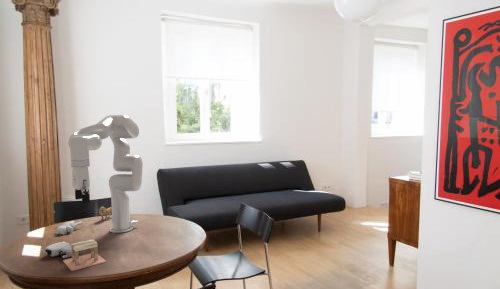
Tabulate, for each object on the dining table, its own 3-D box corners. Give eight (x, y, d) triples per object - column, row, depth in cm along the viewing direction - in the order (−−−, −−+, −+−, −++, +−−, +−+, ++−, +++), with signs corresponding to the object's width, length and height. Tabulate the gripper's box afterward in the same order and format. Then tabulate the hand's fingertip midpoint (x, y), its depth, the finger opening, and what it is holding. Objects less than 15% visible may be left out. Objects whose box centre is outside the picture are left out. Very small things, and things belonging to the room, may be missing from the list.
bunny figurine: (50, 228, 198) (69, 217, 213) (52, 236, 199) (70, 225, 214) (66, 229, 196) (83, 218, 211) (67, 237, 197) (84, 226, 212)
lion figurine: (104, 222, 222) (104, 207, 222) (97, 221, 223) (96, 207, 223) (118, 215, 237) (117, 202, 236) (110, 215, 238) (110, 202, 237)
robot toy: (85, 254, 172) (62, 248, 178) (86, 245, 172) (62, 239, 178) (63, 264, 161) (39, 257, 167) (63, 254, 161) (39, 247, 166)
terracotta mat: (95, 253, 171) (95, 252, 171) (106, 262, 160) (106, 261, 160) (62, 261, 162) (62, 260, 162) (71, 271, 151) (71, 269, 151)
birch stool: (72, 261, 160) (71, 243, 159) (93, 256, 166) (92, 239, 165) (76, 265, 155) (75, 247, 155) (98, 260, 161) (97, 242, 161)
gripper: (65, 162, 168) (68, 198, 170) (77, 166, 155) (79, 206, 157) (83, 160, 173) (85, 196, 175) (95, 164, 160) (97, 203, 162)
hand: (82, 200), depth 166 cm, fingers open, 9 cm apart
